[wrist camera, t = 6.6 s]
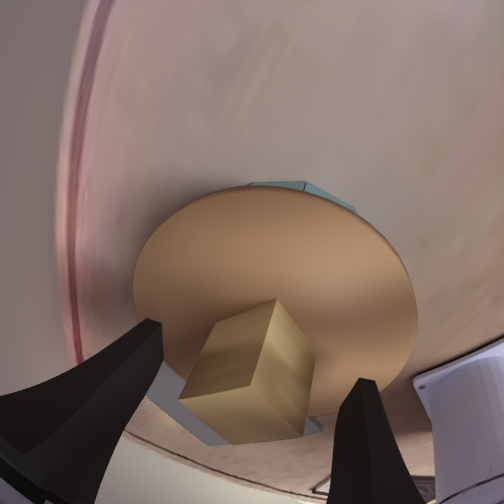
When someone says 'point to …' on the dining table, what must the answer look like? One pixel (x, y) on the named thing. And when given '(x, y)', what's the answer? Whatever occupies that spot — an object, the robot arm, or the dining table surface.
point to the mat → (166, 398)
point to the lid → (274, 307)
